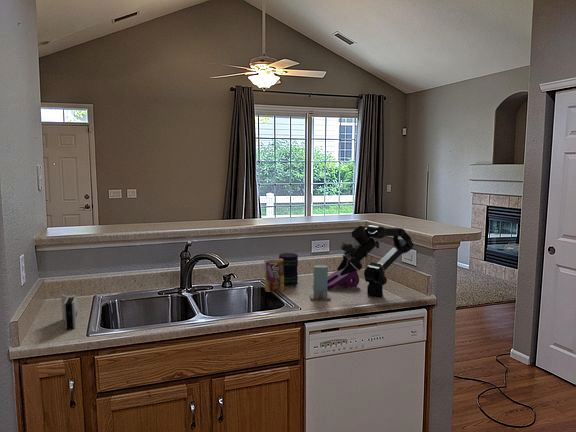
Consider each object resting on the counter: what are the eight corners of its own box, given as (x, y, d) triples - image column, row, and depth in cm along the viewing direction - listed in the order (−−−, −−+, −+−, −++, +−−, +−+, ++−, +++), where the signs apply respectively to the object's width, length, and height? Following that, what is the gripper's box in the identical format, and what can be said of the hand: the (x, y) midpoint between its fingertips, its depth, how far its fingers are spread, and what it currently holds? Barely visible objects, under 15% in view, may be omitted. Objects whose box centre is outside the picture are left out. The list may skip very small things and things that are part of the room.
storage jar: (287, 287, 220) (287, 257, 218) (274, 283, 227) (274, 254, 225) (301, 283, 226) (302, 255, 224) (289, 279, 234) (289, 252, 232)
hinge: (62, 319, 174) (61, 294, 173) (77, 317, 177) (76, 292, 176) (65, 330, 163) (64, 304, 161) (81, 328, 165) (80, 302, 164)
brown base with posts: (328, 296, 205) (329, 287, 205) (330, 300, 199) (330, 292, 198) (309, 296, 205) (309, 288, 204) (310, 300, 199) (310, 292, 198)
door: (326, 295, 203) (326, 265, 202) (327, 297, 200) (327, 267, 199) (312, 295, 203) (313, 265, 201) (313, 297, 200) (313, 267, 198)
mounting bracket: (333, 302, 215) (361, 283, 221) (327, 288, 213) (355, 269, 219) (323, 297, 224) (351, 278, 230) (317, 283, 221) (345, 264, 227)
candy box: (282, 288, 217) (282, 258, 216) (284, 291, 213) (284, 260, 211) (264, 289, 215) (264, 259, 213) (266, 292, 211) (266, 261, 209)
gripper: (348, 233, 208) (324, 256, 209) (355, 239, 190) (329, 264, 191) (364, 249, 209) (340, 272, 210) (373, 257, 191) (347, 282, 192)
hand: (339, 272), depth 201 cm, fingers open, 9 cm apart
